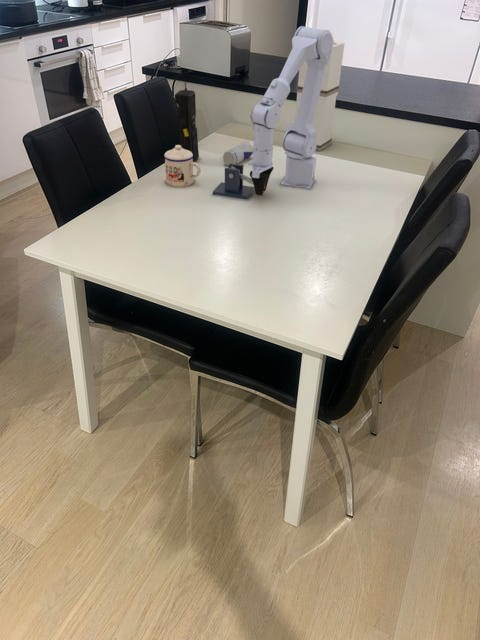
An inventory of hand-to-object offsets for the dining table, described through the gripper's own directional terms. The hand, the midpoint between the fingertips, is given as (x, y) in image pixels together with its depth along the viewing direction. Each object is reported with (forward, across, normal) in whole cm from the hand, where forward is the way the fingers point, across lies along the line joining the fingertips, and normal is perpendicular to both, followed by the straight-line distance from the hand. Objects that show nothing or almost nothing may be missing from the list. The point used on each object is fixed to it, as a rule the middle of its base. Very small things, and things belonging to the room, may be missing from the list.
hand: (260, 192), depth 155 cm
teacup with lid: (+2, -2, -26) cm, 26 cm away
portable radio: (+2, -21, -32) cm, 38 cm away
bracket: (+1, 0, -9) cm, 9 cm away
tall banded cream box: (+1, -55, +6) cm, 55 cm away
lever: (-2, 0, -5) cm, 5 cm away
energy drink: (-1, -21, -17) cm, 27 cm away
